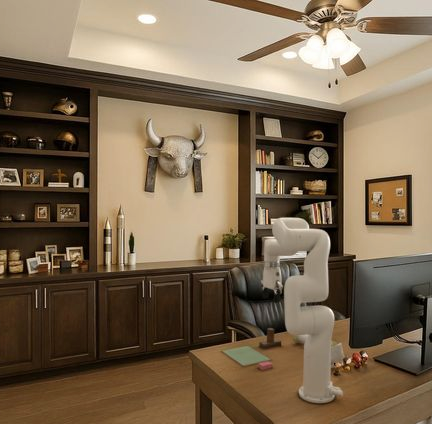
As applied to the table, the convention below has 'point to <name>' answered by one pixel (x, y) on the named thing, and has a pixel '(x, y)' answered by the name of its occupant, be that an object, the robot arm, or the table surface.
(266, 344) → the brown t-shaped block
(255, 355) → the desk pad
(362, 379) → the table surface
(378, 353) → the table surface
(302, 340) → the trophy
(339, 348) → the arrowhead
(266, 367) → the eraser
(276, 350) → the table surface
